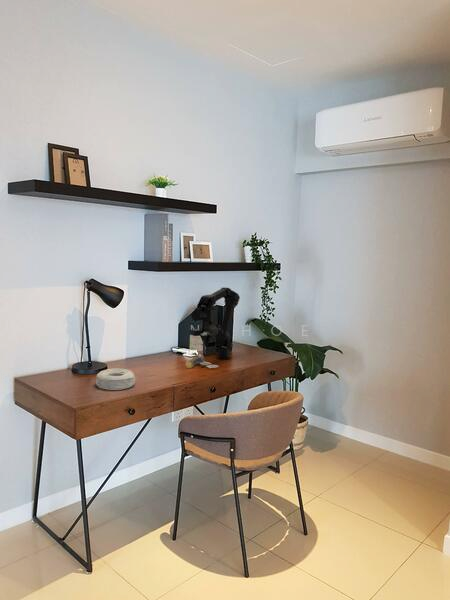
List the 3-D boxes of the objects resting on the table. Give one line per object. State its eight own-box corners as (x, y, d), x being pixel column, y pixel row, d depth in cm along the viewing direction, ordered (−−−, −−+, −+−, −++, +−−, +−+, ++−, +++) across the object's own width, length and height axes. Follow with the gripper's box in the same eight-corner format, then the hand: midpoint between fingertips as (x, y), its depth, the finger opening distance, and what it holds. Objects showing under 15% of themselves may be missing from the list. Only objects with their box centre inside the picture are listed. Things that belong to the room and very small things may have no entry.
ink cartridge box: (205, 354, 290) (206, 330, 288) (201, 355, 286) (202, 331, 284) (193, 352, 294) (194, 328, 292) (189, 353, 290) (189, 329, 288)
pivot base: (201, 360, 275) (201, 359, 275) (207, 362, 270) (207, 361, 270) (192, 361, 272) (192, 360, 272) (198, 363, 267) (198, 363, 267)
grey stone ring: (121, 378, 232) (121, 366, 232) (143, 386, 220) (143, 373, 220) (88, 384, 220) (89, 371, 219) (110, 393, 208) (110, 380, 207)
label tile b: (214, 365, 265) (214, 364, 265) (218, 366, 262) (219, 366, 262) (205, 366, 261) (205, 365, 261) (209, 368, 258) (209, 367, 258)
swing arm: (198, 360, 273) (198, 354, 273) (204, 360, 272) (204, 354, 272) (185, 367, 256) (185, 360, 256) (191, 368, 255) (191, 361, 254)
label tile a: (207, 362, 270) (207, 361, 270) (211, 364, 267) (211, 363, 267) (198, 363, 267) (198, 362, 267) (202, 365, 264) (202, 364, 264)
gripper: (200, 322, 252) (199, 351, 254) (229, 319, 263) (228, 347, 265) (189, 319, 260) (188, 347, 262) (217, 316, 272) (216, 343, 273)
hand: (205, 346), depth 265 cm, fingers closed
